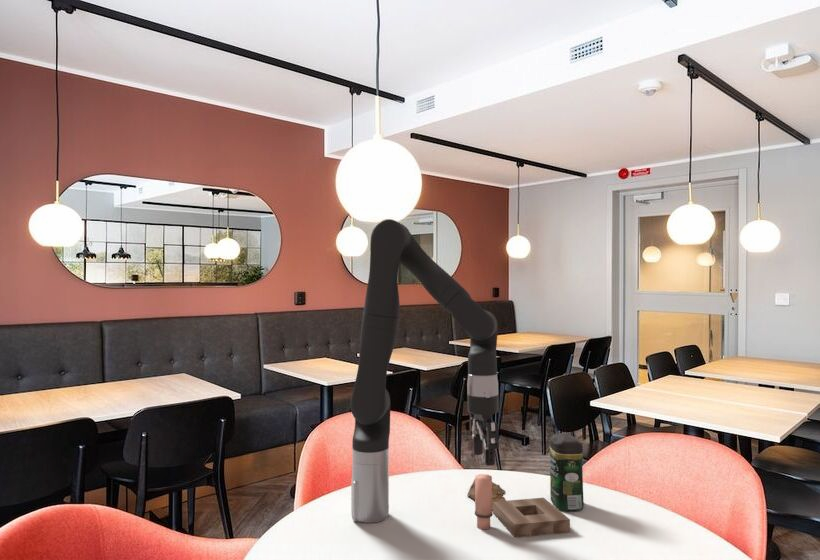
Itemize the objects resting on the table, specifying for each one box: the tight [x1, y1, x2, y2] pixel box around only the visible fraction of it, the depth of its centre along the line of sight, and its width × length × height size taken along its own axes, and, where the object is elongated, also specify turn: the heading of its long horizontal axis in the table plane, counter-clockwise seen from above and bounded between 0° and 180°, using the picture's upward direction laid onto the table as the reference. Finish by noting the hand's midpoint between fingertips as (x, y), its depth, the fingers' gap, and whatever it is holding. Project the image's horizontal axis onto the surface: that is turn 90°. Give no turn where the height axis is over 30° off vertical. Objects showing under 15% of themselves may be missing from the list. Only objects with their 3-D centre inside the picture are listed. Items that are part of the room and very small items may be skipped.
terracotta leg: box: [474, 473, 494, 531], centre depth 132 cm, size 4×4×12 cm
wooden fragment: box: [466, 479, 506, 512], centre depth 154 cm, size 26×11×1 cm, turn 179°
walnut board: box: [492, 497, 571, 538], centre depth 134 cm, size 14×14×3 cm
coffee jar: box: [549, 432, 584, 512], centre depth 145 cm, size 10×8×19 cm
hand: (483, 459), depth 132 cm, fingers open, 8 cm apart
